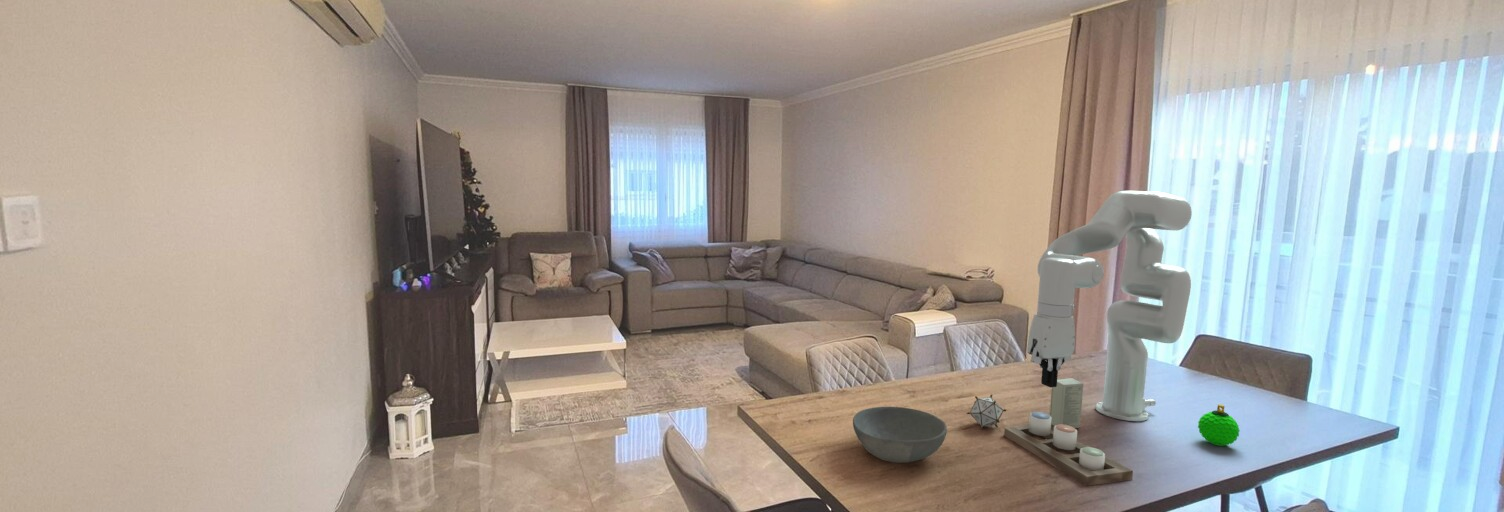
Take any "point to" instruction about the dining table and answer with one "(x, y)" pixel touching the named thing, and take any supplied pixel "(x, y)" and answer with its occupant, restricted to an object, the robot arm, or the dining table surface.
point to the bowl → (899, 433)
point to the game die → (986, 411)
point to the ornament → (1218, 427)
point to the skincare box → (1066, 402)
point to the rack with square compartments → (1068, 458)
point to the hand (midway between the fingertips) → (1048, 385)
